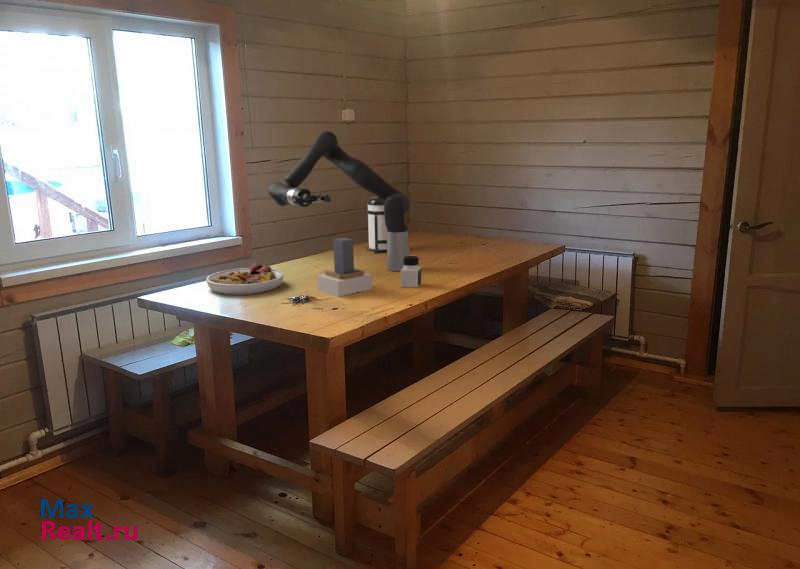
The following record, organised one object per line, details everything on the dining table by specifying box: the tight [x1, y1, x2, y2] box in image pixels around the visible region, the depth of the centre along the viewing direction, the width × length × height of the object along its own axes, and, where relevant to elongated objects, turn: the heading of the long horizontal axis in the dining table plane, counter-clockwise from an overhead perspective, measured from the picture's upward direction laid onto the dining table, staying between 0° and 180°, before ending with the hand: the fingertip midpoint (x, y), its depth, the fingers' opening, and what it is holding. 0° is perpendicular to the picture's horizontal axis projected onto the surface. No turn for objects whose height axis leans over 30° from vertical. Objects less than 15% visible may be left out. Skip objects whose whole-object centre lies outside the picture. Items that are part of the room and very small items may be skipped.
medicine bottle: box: [400, 254, 422, 288], centre depth 268 cm, size 7×7×12 cm
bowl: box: [206, 262, 284, 296], centre depth 270 cm, size 30×30×8 cm
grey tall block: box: [333, 237, 355, 275], centre depth 261 cm, size 5×6×14 cm
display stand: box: [317, 267, 373, 298], centre depth 263 cm, size 16×14×8 cm
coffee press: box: [366, 196, 387, 254], centre depth 337 cm, size 17×16×30 cm
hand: (320, 200), depth 267 cm, fingers open, 8 cm apart
